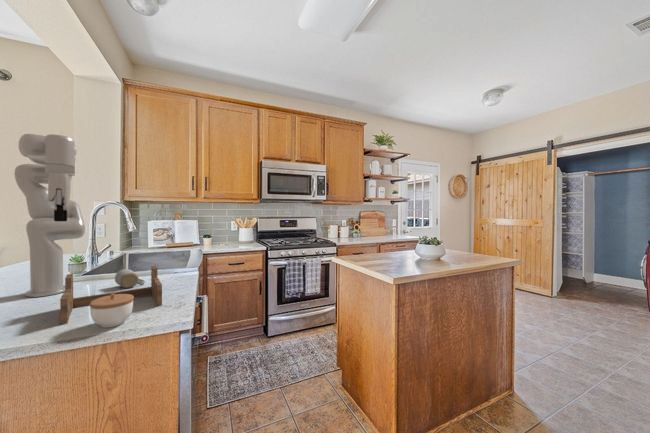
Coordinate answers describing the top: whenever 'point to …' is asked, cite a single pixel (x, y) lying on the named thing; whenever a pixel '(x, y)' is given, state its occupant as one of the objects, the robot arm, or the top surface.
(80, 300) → the wooden rack
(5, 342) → the top surface
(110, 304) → the lidded jar
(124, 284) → the white mug
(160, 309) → the top surface
